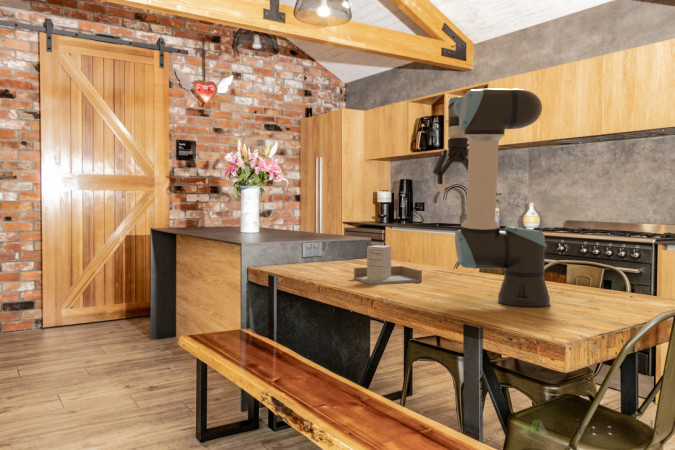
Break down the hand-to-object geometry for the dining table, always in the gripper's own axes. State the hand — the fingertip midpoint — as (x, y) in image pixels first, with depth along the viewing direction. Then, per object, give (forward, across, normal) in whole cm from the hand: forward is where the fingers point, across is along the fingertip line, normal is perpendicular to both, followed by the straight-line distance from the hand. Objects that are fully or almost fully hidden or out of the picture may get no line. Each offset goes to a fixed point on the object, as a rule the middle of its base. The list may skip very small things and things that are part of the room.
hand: (457, 193), depth 207 cm
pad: (+35, +28, -12) cm, 46 cm away
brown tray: (+35, +24, -12) cm, 44 cm away
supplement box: (+34, +28, -12) cm, 45 cm away
